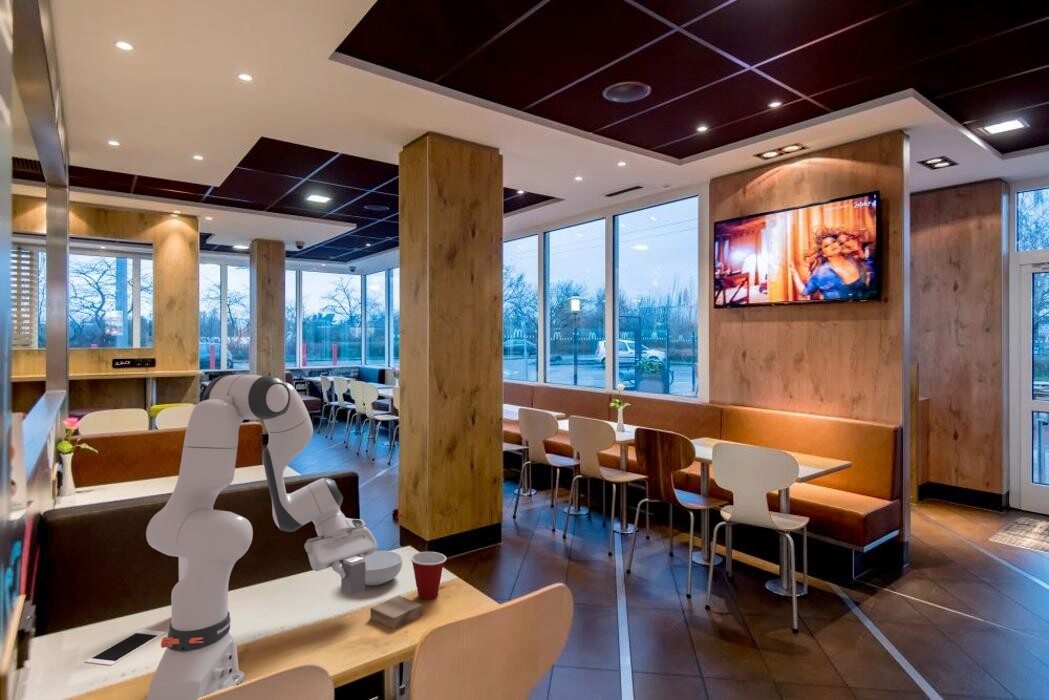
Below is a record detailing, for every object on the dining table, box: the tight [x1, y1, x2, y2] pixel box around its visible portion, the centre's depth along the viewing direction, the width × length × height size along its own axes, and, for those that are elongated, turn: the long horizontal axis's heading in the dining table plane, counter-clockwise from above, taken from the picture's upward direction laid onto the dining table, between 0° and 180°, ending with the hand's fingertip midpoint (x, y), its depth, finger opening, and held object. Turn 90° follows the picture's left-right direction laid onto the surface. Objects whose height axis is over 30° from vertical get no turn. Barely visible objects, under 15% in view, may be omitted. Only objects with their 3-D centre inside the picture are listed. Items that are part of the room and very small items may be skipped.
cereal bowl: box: [365, 550, 403, 587], centre depth 183 cm, size 17×17×7 cm
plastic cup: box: [410, 551, 447, 601], centre depth 172 cm, size 11×11×12 cm
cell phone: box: [84, 628, 166, 666], centre depth 143 cm, size 8×16×1 cm, turn 169°
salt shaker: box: [340, 556, 366, 596], centre depth 160 cm, size 5×5×9 cm
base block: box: [369, 595, 423, 630], centre depth 158 cm, size 10×10×3 cm
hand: (354, 573), depth 159 cm, fingers closed on salt shaker, 5 cm apart
